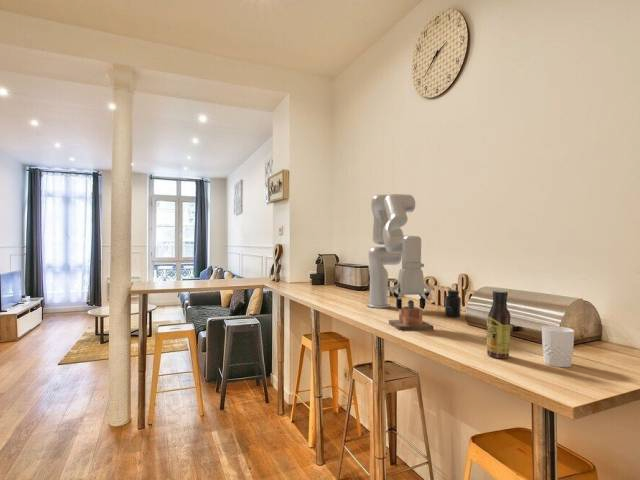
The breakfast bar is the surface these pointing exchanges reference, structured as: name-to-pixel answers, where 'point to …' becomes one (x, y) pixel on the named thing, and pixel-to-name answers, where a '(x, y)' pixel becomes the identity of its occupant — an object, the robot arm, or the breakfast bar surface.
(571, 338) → the white cup
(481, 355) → the breakfast bar surface
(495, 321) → the sauce bottle
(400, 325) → the post board
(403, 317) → the reddish brown box
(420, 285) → the robot arm
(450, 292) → the supplement bottle
